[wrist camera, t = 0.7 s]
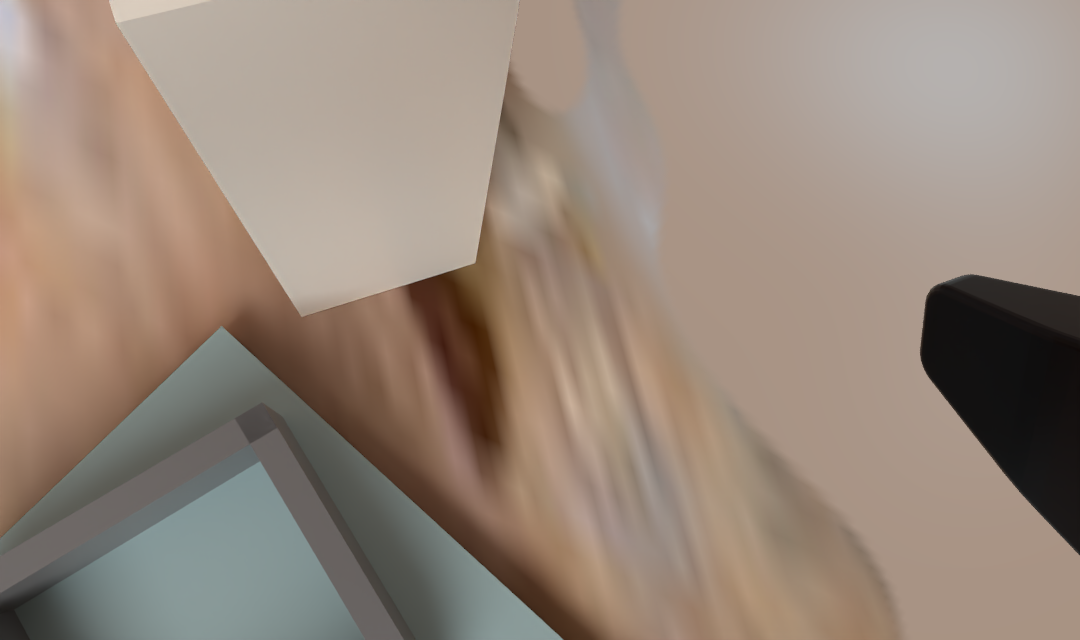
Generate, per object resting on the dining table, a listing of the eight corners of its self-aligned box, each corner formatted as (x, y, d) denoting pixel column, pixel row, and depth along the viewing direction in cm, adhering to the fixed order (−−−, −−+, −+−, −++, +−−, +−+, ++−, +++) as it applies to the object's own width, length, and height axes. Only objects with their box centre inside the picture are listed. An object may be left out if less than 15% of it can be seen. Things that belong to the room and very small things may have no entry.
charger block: (475, 263, 22) (540, -114, 9) (301, 317, 21) (93, -13, 8) (419, 107, 23) (405, -450, 10) (249, 153, 22) (-15, -387, 9)
